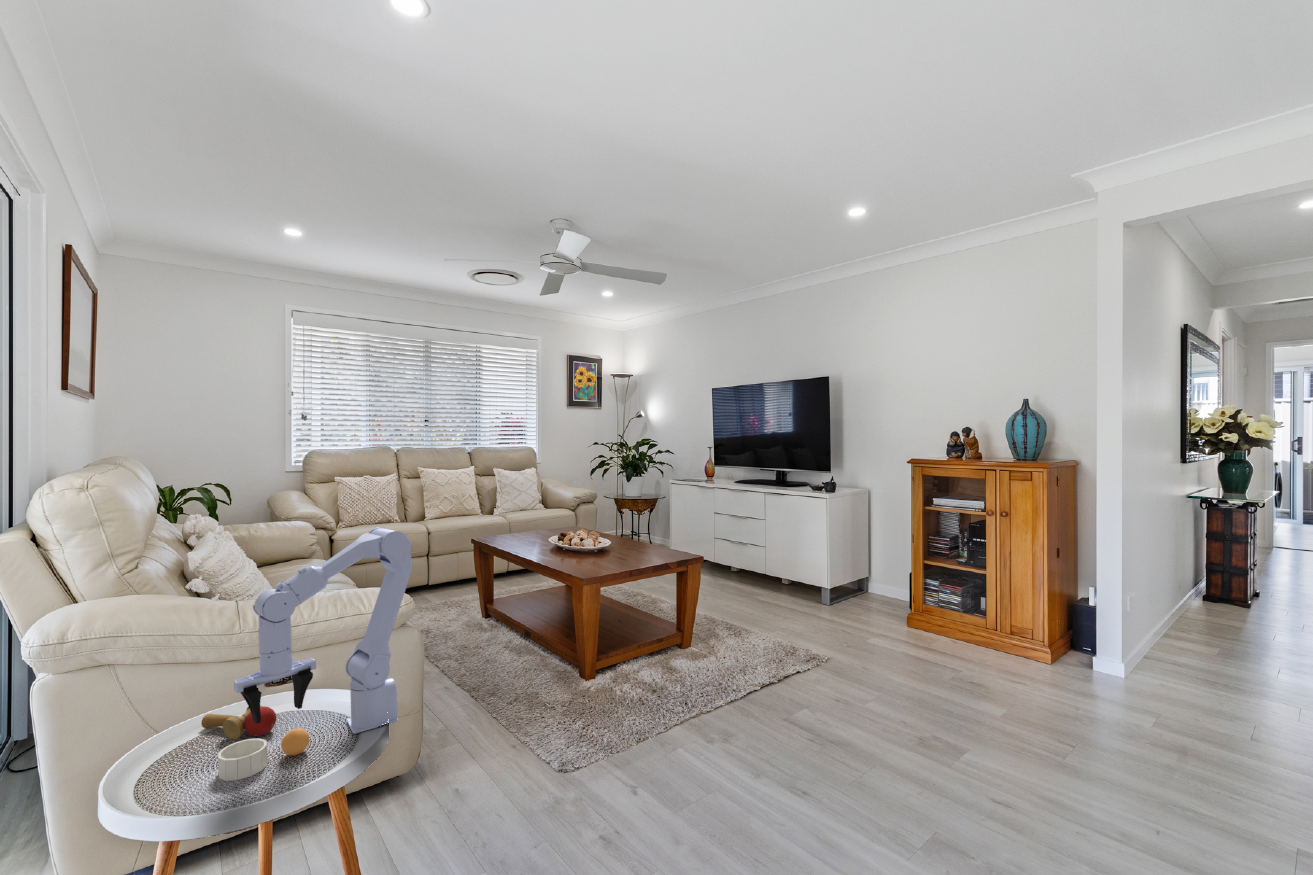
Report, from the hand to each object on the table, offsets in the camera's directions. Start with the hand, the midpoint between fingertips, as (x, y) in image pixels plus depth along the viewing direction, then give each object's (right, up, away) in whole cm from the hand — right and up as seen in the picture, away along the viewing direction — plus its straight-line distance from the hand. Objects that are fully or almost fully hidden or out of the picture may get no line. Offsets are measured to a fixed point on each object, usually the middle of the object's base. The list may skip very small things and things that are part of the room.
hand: (278, 714), depth 126 cm
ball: (+3, -6, +1) cm, 7 cm away
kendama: (-16, -9, +11) cm, 21 cm away
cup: (-4, -9, -5) cm, 11 cm away
